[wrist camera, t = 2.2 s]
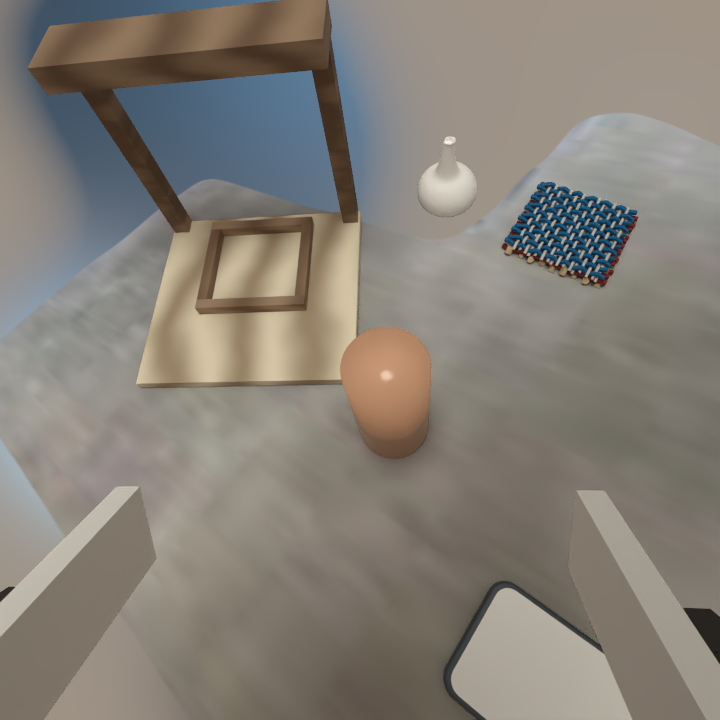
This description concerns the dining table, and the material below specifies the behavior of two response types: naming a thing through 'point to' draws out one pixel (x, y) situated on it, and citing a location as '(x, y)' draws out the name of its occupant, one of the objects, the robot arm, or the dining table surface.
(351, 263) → the wooden c-frame stand
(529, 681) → the phone case
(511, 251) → the woven mat
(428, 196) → the garlic bulb
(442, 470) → the dining table surface
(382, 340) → the tan cylinder
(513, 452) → the dining table surface
